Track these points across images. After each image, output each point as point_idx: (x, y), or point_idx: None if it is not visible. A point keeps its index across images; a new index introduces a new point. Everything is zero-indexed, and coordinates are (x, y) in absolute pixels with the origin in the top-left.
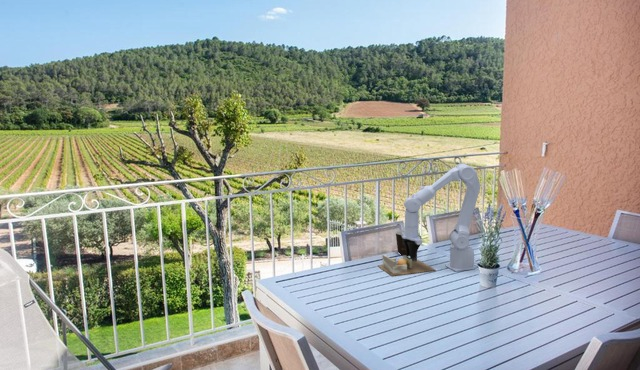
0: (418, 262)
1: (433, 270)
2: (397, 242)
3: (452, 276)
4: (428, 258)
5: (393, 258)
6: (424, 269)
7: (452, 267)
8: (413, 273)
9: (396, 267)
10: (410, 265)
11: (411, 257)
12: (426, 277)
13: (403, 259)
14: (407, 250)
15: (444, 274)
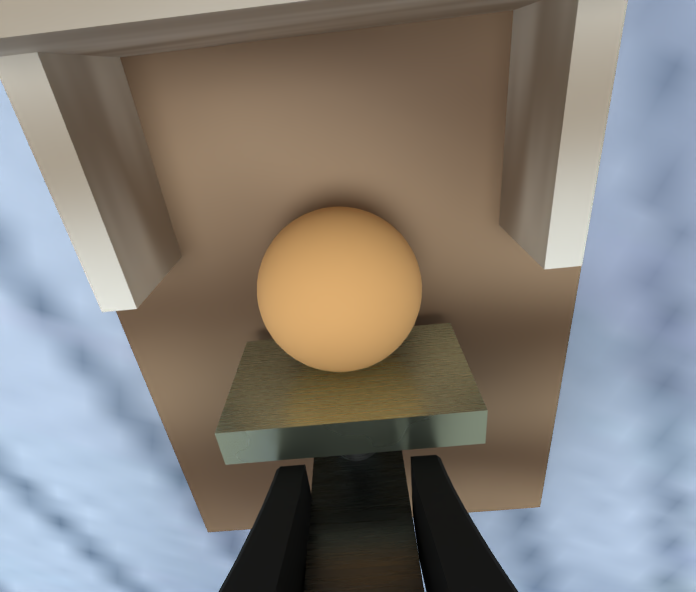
0: (476, 484)
1: (203, 513)
2: None
3: (58, 569)
4: (570, 574)
5: (561, 218)
6: None
7: None
8: (127, 322)
9: (16, 74)
10: (242, 371)
11: (272, 486)
12: (6, 399)
13: (315, 348)
14: (439, 571)
15: (110, 543)
